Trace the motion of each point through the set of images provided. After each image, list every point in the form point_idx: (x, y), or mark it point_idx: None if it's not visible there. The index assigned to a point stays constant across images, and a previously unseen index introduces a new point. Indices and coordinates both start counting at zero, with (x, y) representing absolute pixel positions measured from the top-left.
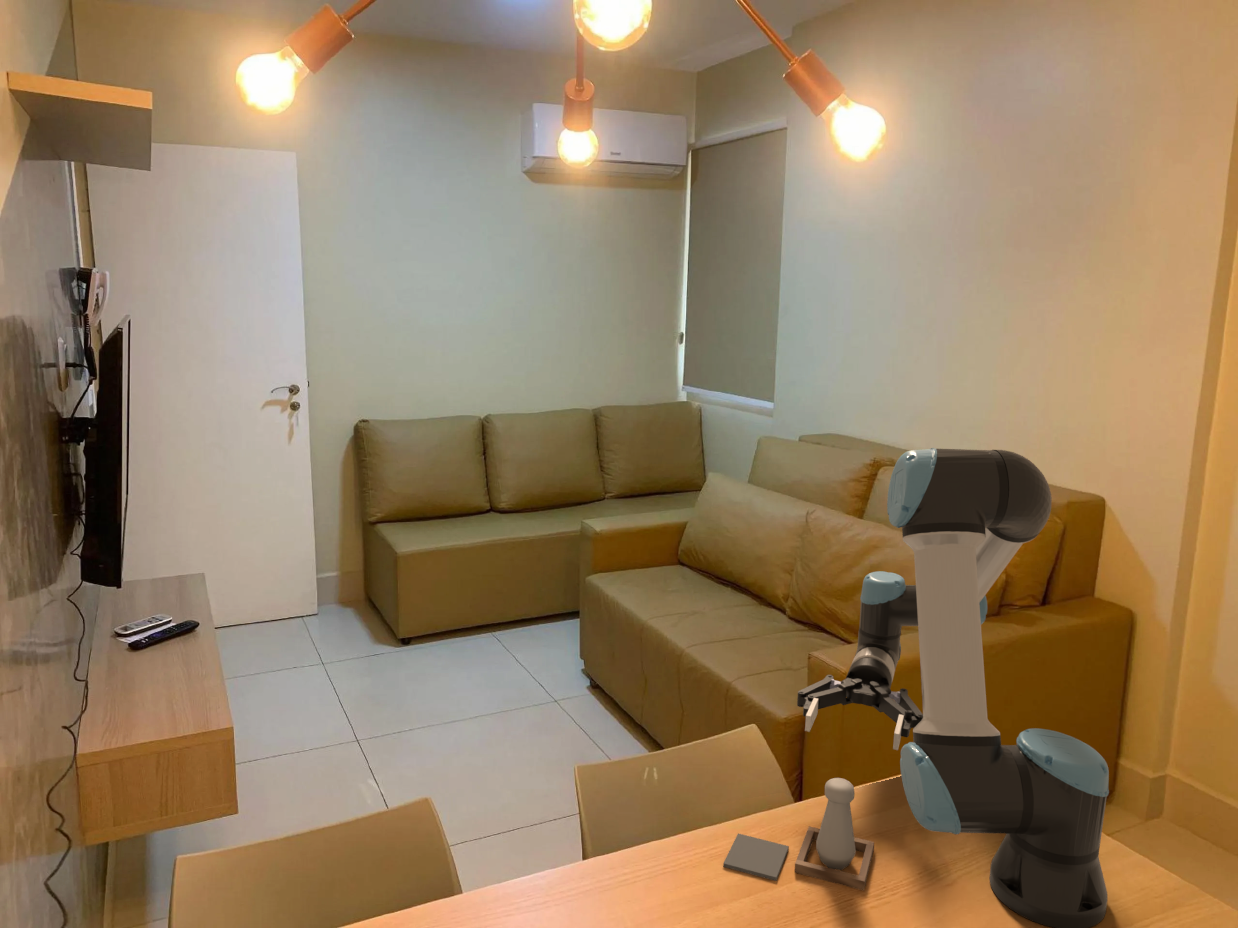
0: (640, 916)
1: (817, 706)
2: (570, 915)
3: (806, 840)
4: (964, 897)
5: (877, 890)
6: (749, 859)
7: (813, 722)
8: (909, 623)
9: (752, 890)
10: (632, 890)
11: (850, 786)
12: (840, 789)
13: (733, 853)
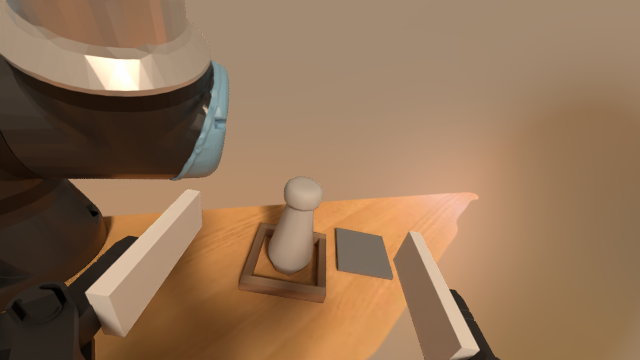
0: (397, 197)
1: (441, 349)
2: (427, 196)
3: (322, 267)
4: None
5: (247, 231)
6: (365, 243)
7: (407, 303)
8: None
9: (349, 220)
10: (416, 212)
11: (291, 181)
12: (303, 177)
13: (380, 248)
